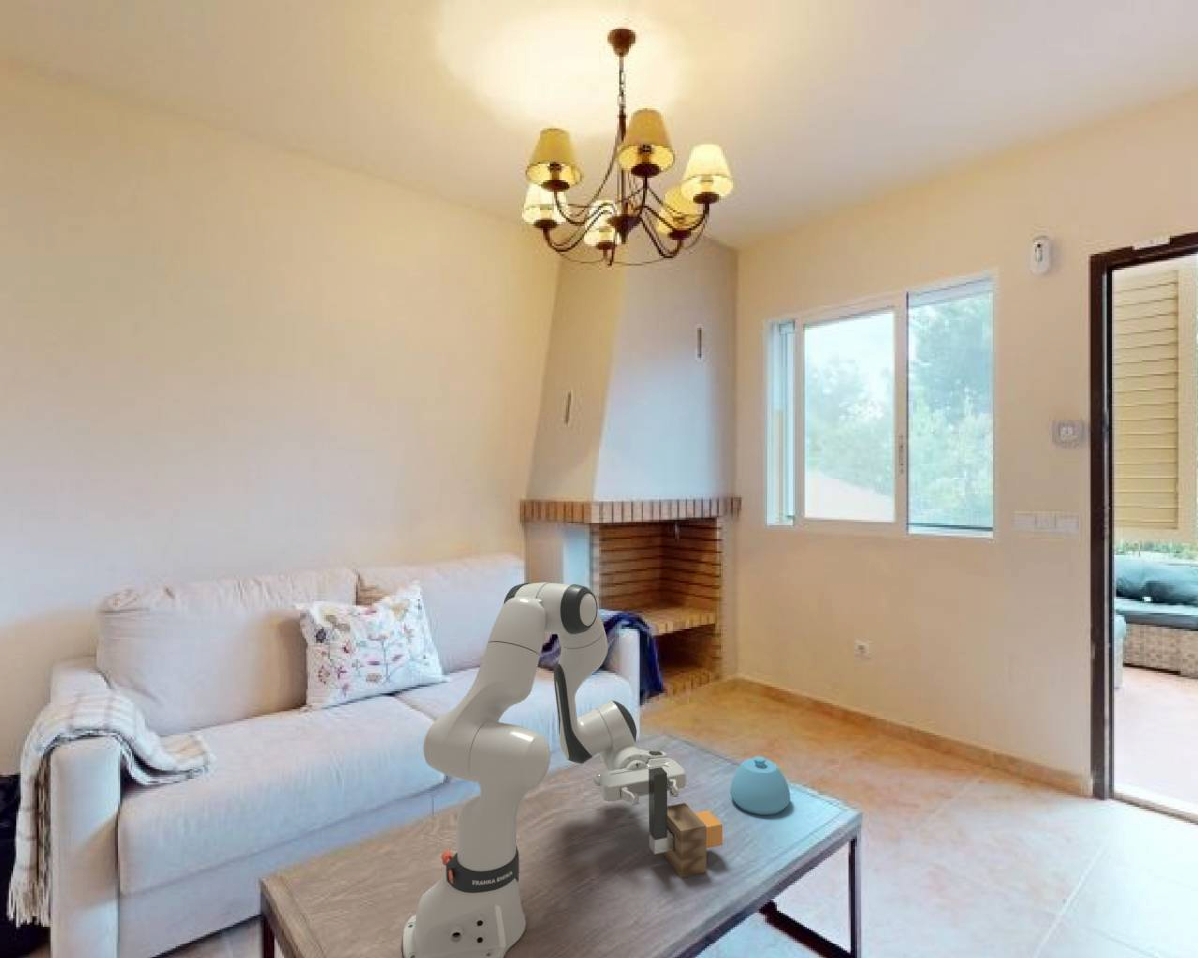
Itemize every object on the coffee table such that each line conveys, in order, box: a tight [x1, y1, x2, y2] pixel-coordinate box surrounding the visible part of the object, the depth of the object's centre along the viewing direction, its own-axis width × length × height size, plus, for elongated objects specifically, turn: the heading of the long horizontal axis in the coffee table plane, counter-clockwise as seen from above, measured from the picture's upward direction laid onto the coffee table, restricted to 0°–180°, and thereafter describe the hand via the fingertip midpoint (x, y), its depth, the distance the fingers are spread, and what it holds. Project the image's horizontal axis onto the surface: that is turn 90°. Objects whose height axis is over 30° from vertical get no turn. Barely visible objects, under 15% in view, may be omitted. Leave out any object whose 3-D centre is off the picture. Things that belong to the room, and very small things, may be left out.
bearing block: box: [661, 802, 707, 879], centre depth 141 cm, size 6×10×10 cm, turn 19°
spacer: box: [694, 809, 723, 849], centre depth 143 cm, size 4×6×5 cm, turn 19°
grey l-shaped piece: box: [648, 767, 675, 855], centre depth 141 cm, size 16×3×17 cm, turn 109°
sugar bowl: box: [729, 755, 791, 816], centre depth 166 cm, size 15×15×12 cm
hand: (656, 797), depth 140 cm, fingers open, 8 cm apart
